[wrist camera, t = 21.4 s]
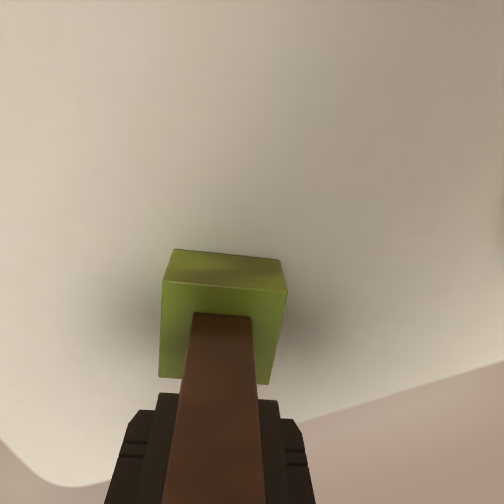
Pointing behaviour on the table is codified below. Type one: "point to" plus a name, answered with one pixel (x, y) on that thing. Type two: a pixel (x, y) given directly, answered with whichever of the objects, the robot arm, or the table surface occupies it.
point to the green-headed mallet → (218, 372)
